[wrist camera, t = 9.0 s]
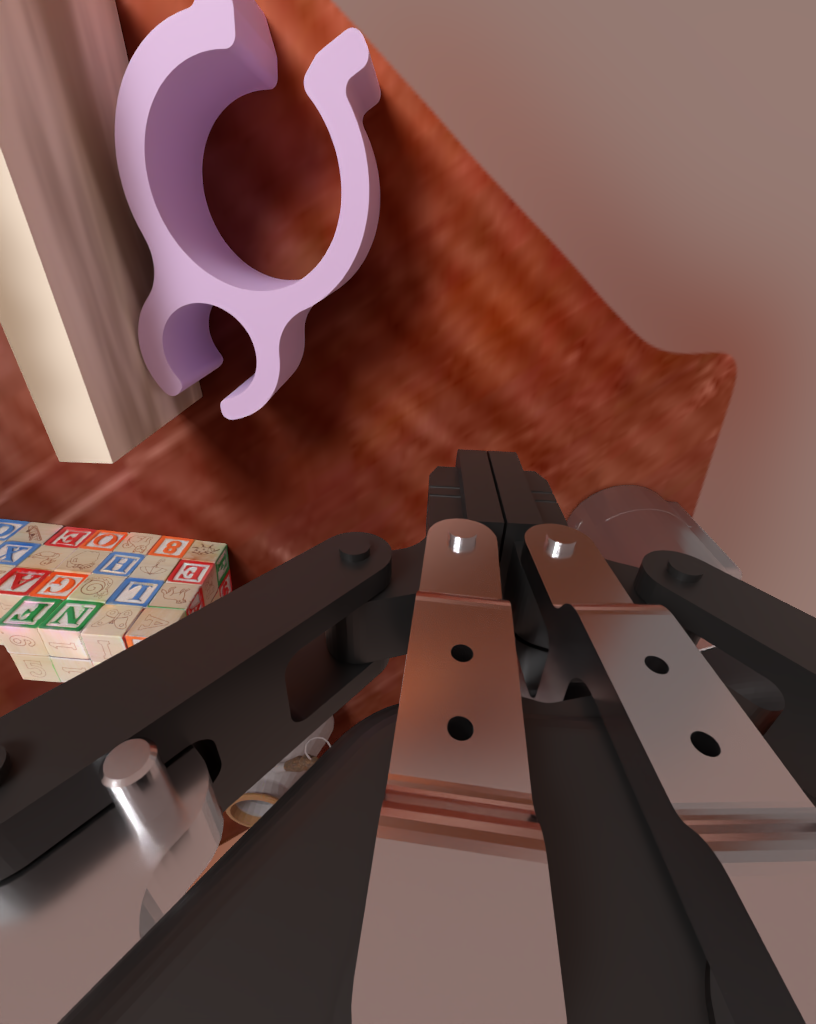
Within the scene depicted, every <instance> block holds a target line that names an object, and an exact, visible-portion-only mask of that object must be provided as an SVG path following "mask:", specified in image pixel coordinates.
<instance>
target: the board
mask: <svg viewBox="0 0 816 1024" xmlns="http://www.w3.org/2000/svg"><path fill="white" fill-rule="evenodd" d="M128 64H129V61H128V57H127V52H126V48H125V43H124V39H123V34H122V30H121V25H120V21H119V16H118V11H117V7H116V2H115V0H0V322H1V325H2V327H3V330H4V332H5V334H6V337H7V339H8V341H9V344H10V346H11V348H12V351H13V353H14V356H15V358H16V360H17V363H18V365H19V367H20V370H21V372H22V374H23V377H24V379H25V381H26V384H27V386H28V389H29V391H30V393H31V396H32V398H33V400H34V403H35V405H36V407H37V410H38V412H39V414H40V417H41V419H42V422H43V424H44V426H45V429H46V431H47V433H48V436H49V438H50V440H51V443H52V445H53V448H54V450H55V452H56V455H57V457H58V459H59V462H85V463H114V462H115V461H117V460H118V459H120V458H121V457H122V456H124V455H125V454H126V453H128V452H129V451H130V450H132V449H133V448H134V447H136V446H137V445H138V444H140V443H141V442H142V441H144V440H145V439H146V438H148V437H149V436H150V435H152V434H153V433H154V432H156V431H157V430H158V429H160V428H161V427H162V426H164V425H165V424H166V423H168V422H169V421H170V420H172V419H173V418H175V417H176V416H177V415H179V414H180V413H181V412H183V411H184V410H185V409H187V408H188V407H189V406H191V405H192V404H193V403H195V402H196V401H197V400H199V399H200V398H201V397H203V396H202V392H201V387H200V383H199V381H197V382H196V383H194V384H193V385H191V386H190V387H188V388H187V389H185V390H184V391H182V392H181V393H179V394H178V395H176V396H170V395H168V394H166V393H165V392H164V391H163V390H162V389H161V388H160V386H159V385H158V384H157V383H156V381H155V380H154V378H153V377H152V375H151V373H150V372H149V370H148V368H147V366H146V364H145V362H144V359H143V356H142V353H141V349H140V345H139V338H138V323H139V317H140V313H141V310H142V307H143V305H144V303H145V301H146V300H147V298H148V296H149V294H150V292H151V290H152V287H153V282H154V263H153V258H152V255H151V251H150V249H149V246H148V244H147V242H146V240H145V238H144V236H143V234H142V232H141V230H140V229H139V227H138V225H137V223H136V221H135V219H134V217H133V214H132V212H131V209H130V207H129V204H128V202H127V199H126V196H125V193H124V190H123V187H122V183H121V179H120V175H119V170H118V165H117V158H116V149H115V114H116V106H117V99H118V95H119V90H120V86H121V83H122V79H123V77H124V74H125V71H126V69H127V67H128Z"/></svg>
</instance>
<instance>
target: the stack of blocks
mask: <svg viewBox="0 0 816 1024" xmlns="http://www.w3.org/2000/svg"><path fill="white" fill-rule="evenodd" d="M230 592H232V582H231V573H230V569H229V560H228V551H227V544H224V543H215V542H207V541H198V540H194V539H187V538H178V537H169V536H160V535H153V534H144V533H135V532H131V533H126V532H115V531H106V530H93V529H85V528H75V527H64V526H62V525H54V524H45V523H36V522H26V521H18V520H7V519H0V645H5V647H6V649H7V651H8V652H9V653H10V654H11V657H12V658H13V660H14V662H15V664H16V666H17V668H18V670H19V672H20V674H21V676H22V678H23V679H29V680H39V681H51V682H66V681H68V680H70V679H72V678H74V677H76V676H77V675H79V674H81V673H83V672H85V671H87V670H88V669H90V668H92V667H94V666H96V665H98V664H100V663H101V662H103V661H105V660H107V659H109V658H111V657H112V656H114V655H116V654H118V653H120V652H122V651H123V650H125V649H127V648H129V647H131V646H133V645H134V644H136V643H138V642H140V641H142V640H144V639H146V638H147V637H149V636H151V635H153V634H155V633H157V632H158V631H160V630H162V629H164V628H166V627H168V626H169V625H171V624H173V623H175V622H177V621H179V620H180V619H182V618H184V617H186V616H188V615H190V614H192V613H193V612H195V611H197V610H199V609H201V608H203V607H204V606H206V605H208V604H210V603H212V602H214V601H215V600H217V599H219V598H221V597H223V596H225V595H226V594H228V593H230Z"/></svg>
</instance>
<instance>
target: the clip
mask: <svg viewBox="0 0 816 1024" xmlns="http://www.w3.org/2000/svg"><path fill="white" fill-rule="evenodd" d="M277 81H278V71H277V55H276V51H275V48H274V44H273V41H272V37H271V34H270V30H269V27H268V23H267V19H266V17H265V15H264V13H263V11H262V10H261V9H260V7H259V6H258V5H257V3H256V2H255V0H194V3H193V5H192V6H191V7H189V8H187V9H185V10H182V11H180V12H178V13H176V14H174V15H172V16H170V17H169V18H167V19H166V20H164V21H163V22H161V23H160V24H159V25H158V26H156V27H155V28H154V29H153V30H152V31H151V32H150V33H149V34H148V35H147V36H146V38H145V39H144V40H143V41H142V42H141V44H140V45H139V47H138V48H137V50H136V51H135V53H134V55H133V57H132V58H131V60H130V62H129V64H128V67H127V69H126V71H125V74H124V77H123V79H122V83H121V86H120V90H119V95H118V99H117V106H116V114H115V149H116V158H117V165H118V170H119V175H120V179H121V183H122V187H123V190H124V193H125V196H126V199H127V202H128V204H129V207H130V209H131V212H132V214H133V217H134V219H135V221H136V223H137V225H138V227H139V229H140V230H141V232H142V234H143V236H144V238H145V240H146V242H147V244H148V246H149V249H150V251H151V255H152V258H153V263H154V282H153V287H152V290H151V292H150V294H149V296H148V298H147V300H146V301H145V303H144V305H143V307H142V310H141V313H140V317H139V323H138V338H139V345H140V349H141V353H142V356H143V359H144V362H145V364H146V366H147V368H148V370H149V372H150V373H151V375H152V377H153V378H154V380H155V381H156V383H157V384H158V385H159V386H160V388H161V389H162V390H163V391H164V392H165V393H166V394H168V395H170V396H176V395H178V394H179V393H181V392H182V391H184V390H185V389H187V388H188V387H190V386H191V385H193V384H194V383H196V382H197V381H199V380H200V379H202V378H203V377H205V376H206V375H208V374H209V373H211V372H212V371H214V370H216V369H217V368H219V367H220V365H221V364H222V363H223V357H222V355H221V354H220V352H219V351H218V350H217V348H216V347H215V345H214V343H213V341H212V338H211V335H210V331H209V315H210V311H211V309H212V306H213V305H214V306H217V307H219V308H221V309H223V310H225V311H227V312H228V313H230V314H231V315H232V316H234V317H235V318H236V319H237V320H238V321H239V322H240V323H241V324H242V325H243V327H244V328H245V329H246V331H247V332H248V334H249V336H250V338H251V340H252V342H253V345H254V348H255V352H256V359H257V366H256V372H255V374H253V375H252V376H251V377H250V378H249V379H247V380H246V381H245V382H244V383H243V384H241V385H240V386H239V387H238V388H237V389H236V390H234V391H233V392H232V393H231V394H230V395H228V396H227V397H226V398H225V399H224V400H222V401H221V404H220V407H221V412H222V414H223V416H224V417H225V418H227V419H230V420H234V419H240V418H243V417H246V416H249V415H251V414H253V413H255V412H256V411H258V410H259V409H260V408H261V407H263V406H264V405H265V404H266V403H267V401H268V400H269V399H270V398H271V397H272V396H273V395H274V394H275V393H276V392H277V391H278V390H279V388H280V387H281V386H282V385H283V384H284V383H285V382H286V381H287V380H288V379H289V378H290V377H291V375H292V374H293V373H294V372H295V371H296V369H297V368H298V366H299V364H300V362H301V359H302V356H303V353H304V347H305V321H306V318H307V315H308V313H309V311H310V309H311V308H312V306H313V305H314V304H316V303H318V302H319V301H321V300H322V299H324V298H325V297H327V296H328V295H330V294H331V293H333V292H334V291H336V290H337V289H339V288H340V287H342V286H343V285H344V284H345V283H346V282H347V281H348V280H349V279H351V277H352V276H353V275H354V274H355V273H356V272H357V270H358V269H359V268H360V266H361V265H362V263H363V262H364V260H365V258H366V256H367V254H368V252H369V250H370V248H371V245H372V243H373V240H374V237H375V233H376V230H377V225H378V220H379V212H380V183H379V175H378V169H377V164H376V160H375V156H374V152H373V149H372V146H371V143H370V141H369V138H368V136H367V133H366V131H365V129H364V126H363V117H364V115H365V113H366V112H367V111H368V110H370V109H371V108H372V107H374V106H375V105H376V104H377V103H378V102H379V100H380V97H381V90H380V86H379V83H378V80H377V77H376V73H375V70H374V67H373V63H372V60H371V57H370V53H369V50H368V47H367V44H366V42H365V39H364V37H363V35H362V33H361V32H360V31H359V30H358V29H356V28H348V29H347V30H345V31H344V32H343V33H342V34H340V35H339V36H338V37H337V38H335V39H334V40H333V41H332V42H330V43H329V44H328V45H327V46H326V47H324V48H323V49H322V50H321V51H319V52H318V53H317V55H316V56H315V58H314V60H313V62H312V63H311V65H310V67H309V69H308V71H307V72H306V74H305V77H304V88H305V91H306V93H307V95H308V96H309V97H310V99H311V100H312V102H313V103H314V104H315V106H316V108H317V109H318V111H319V112H320V114H321V116H322V118H323V120H324V122H325V124H326V126H327V128H328V130H329V133H330V135H331V138H332V141H333V144H334V147H335V150H336V154H337V158H338V163H339V168H340V175H341V188H342V195H341V210H340V217H339V221H338V226H337V229H336V232H335V235H334V238H333V241H332V243H331V245H330V247H329V249H328V251H327V252H326V254H325V256H324V257H323V259H322V260H321V261H320V263H319V264H318V265H317V266H316V267H315V268H314V269H313V270H312V271H311V272H310V273H309V274H308V275H307V276H305V277H304V278H303V279H301V280H282V279H277V278H273V277H270V276H267V275H265V274H262V273H260V272H258V271H257V270H255V269H253V268H252V267H250V266H249V265H247V264H246V263H245V262H243V261H242V260H241V259H240V258H239V257H238V256H237V255H236V254H235V253H234V252H233V251H232V250H231V249H230V247H229V246H228V245H227V244H226V242H225V241H224V239H223V238H222V236H221V235H220V233H219V231H218V230H217V228H216V226H215V224H214V222H213V219H212V217H211V215H210V212H209V209H208V206H207V202H206V198H205V194H204V188H203V178H202V164H203V155H204V149H205V145H206V141H207V138H208V135H209V133H210V130H211V128H212V126H213V124H214V123H215V121H216V119H217V118H218V116H219V115H220V114H221V113H222V111H223V110H224V109H225V108H226V107H227V106H228V105H229V104H231V103H232V102H233V101H235V100H236V99H237V98H239V97H241V96H243V95H245V94H248V93H251V92H254V91H259V90H270V89H273V88H274V87H275V86H276V84H277Z"/></svg>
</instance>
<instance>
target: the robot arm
mask: <svg viewBox="0 0 816 1024" xmlns="http://www.w3.org/2000/svg"><path fill="white" fill-rule="evenodd" d="M741 578H742V572H741V570H740V569H739V568H738V567H737V565H736V564H735V563H734V562H733V561H732V560H731V559H730V558H729V557H728V556H727V555H726V554H725V553H724V552H723V551H722V549H721V548H720V547H719V546H718V545H717V544H716V543H715V542H714V541H713V540H712V539H711V538H710V537H709V536H708V535H707V533H706V532H705V531H704V530H703V529H702V528H701V527H700V526H699V525H698V524H697V523H696V522H695V521H694V520H693V519H692V518H691V516H690V515H689V514H688V513H687V512H686V511H685V510H684V509H683V508H682V507H681V506H680V505H679V504H678V503H677V502H668V501H665V500H664V499H663V498H662V497H660V496H659V495H658V494H657V493H656V492H654V491H652V490H650V489H648V488H645V487H640V486H635V485H622V486H615V487H611V488H608V489H604V490H601V491H599V492H597V493H595V494H593V495H591V496H590V497H588V498H587V499H586V500H584V501H583V502H582V503H581V504H580V505H579V506H578V507H577V508H576V509H575V510H574V511H573V512H572V514H571V515H570V517H569V519H568V521H567V522H566V520H565V518H564V516H563V514H562V511H561V509H560V507H559V505H558V503H556V499H555V497H554V495H553V494H552V490H551V488H550V486H549V484H548V482H547V481H546V480H545V479H544V478H542V477H541V476H540V475H539V474H537V473H536V472H534V471H523V469H522V466H521V464H520V461H519V459H518V456H517V454H516V452H499V451H487V452H486V451H478V450H460V449H458V452H457V458H456V467H439V466H438V467H437V468H436V469H435V470H434V471H433V472H432V473H431V474H430V477H429V491H428V505H427V519H426V537H425V539H423V540H422V541H421V542H420V543H418V544H416V545H414V546H411V547H408V548H404V549H399V550H393V551H392V550H391V548H390V546H389V544H388V543H387V542H386V541H385V540H383V539H382V538H380V537H378V536H376V535H373V534H369V533H363V532H350V533H343V534H339V535H336V536H334V537H332V538H330V539H328V540H326V541H324V542H322V543H320V544H318V545H317V546H315V547H313V548H311V549H309V550H307V551H306V552H304V553H302V554H300V555H298V556H296V557H295V558H293V559H291V560H289V561H287V562H285V563H284V564H282V565H280V566H278V567H276V568H274V569H272V570H271V571H269V572H267V573H265V574H263V575H261V576H260V577H258V578H256V579H254V580H252V581H250V582H249V583H247V584H245V585H243V586H241V587H239V588H238V589H236V590H234V591H232V592H230V593H228V594H226V595H225V596H223V597H221V598H219V599H217V600H215V601H214V602H212V603H210V604H208V605H206V606H204V607H203V608H201V609H199V610H197V611H195V612H193V613H192V614H190V615H188V616H186V617H184V618H182V619H180V620H179V621H177V622H175V623H173V624H171V625H169V626H168V627H166V628H164V629H162V630H160V631H158V632H157V633H155V634H153V635H151V636H149V637H147V638H146V639H144V640H142V641H140V642H138V643H136V644H134V645H133V646H131V647H129V648H127V649H125V650H123V651H122V652H120V653H118V654H116V655H114V656H112V657H111V658H109V659H107V660H105V661H103V662H101V663H100V664H98V665H96V666H94V667H92V668H90V669H88V670H87V671H85V672H83V673H81V674H79V675H77V676H76V677H74V678H72V679H70V680H68V681H66V682H65V683H63V684H61V685H59V686H57V687H55V688H54V689H52V690H50V691H48V692H46V693H44V694H42V695H41V696H39V697H37V698H35V699H33V700H31V701H30V702H28V703H26V704H24V705H22V706H20V707H19V708H17V709H15V710H13V711H11V712H9V713H8V714H6V715H4V716H2V717H0V1024H816V618H815V617H813V616H811V615H808V614H807V613H805V612H803V611H801V610H799V609H797V608H795V607H793V606H790V605H789V604H787V603H785V602H783V601H781V600H779V599H777V598H775V597H773V596H771V595H769V594H767V593H765V592H763V591H761V590H759V589H757V588H755V587H753V586H751V585H749V584H747V583H745V582H743V581H741ZM405 654H407V657H406V663H405V670H404V676H403V683H402V689H401V696H400V702H399V704H396V705H393V706H390V707H387V708H385V709H382V710H380V711H378V712H376V713H374V714H372V715H370V716H369V717H367V718H365V719H364V720H362V721H360V722H359V723H357V724H356V725H355V726H353V727H352V728H351V729H349V730H348V731H347V732H346V733H344V734H343V735H342V736H341V737H340V738H339V739H338V740H337V741H336V742H335V743H334V744H333V745H332V746H331V747H330V748H329V749H328V750H327V751H326V752H325V753H324V754H323V755H322V756H321V757H320V758H319V759H318V760H317V761H316V762H315V763H314V764H313V765H312V766H311V767H310V768H309V769H308V770H307V771H306V772H305V773H304V774H303V775H302V776H301V777H300V778H299V779H298V780H297V781H296V782H295V783H294V784H293V785H292V786H291V787H290V789H289V790H288V791H287V792H286V793H285V794H284V795H283V796H282V797H281V798H280V799H279V800H278V801H277V802H276V803H275V804H274V805H273V806H272V807H271V808H270V809H269V810H268V811H267V812H266V813H265V814H264V815H263V816H262V817H261V818H260V819H259V820H258V821H257V822H256V823H255V824H254V825H253V826H252V827H251V828H250V829H249V830H248V831H247V832H246V833H245V834H244V835H243V836H242V837H241V838H240V839H239V840H238V841H237V842H236V843H235V844H234V845H233V846H232V847H231V848H230V849H229V850H228V851H227V852H226V853H225V854H224V855H223V856H222V857H221V858H220V859H219V860H218V861H217V862H216V863H215V864H214V865H213V866H212V867H211V868H210V869H209V870H208V871H207V873H205V874H204V875H203V877H201V878H200V879H199V881H197V882H196V884H195V885H194V886H193V887H192V888H191V889H190V890H189V891H188V892H187V893H186V891H187V890H188V888H189V887H190V886H191V885H192V884H193V882H194V881H195V880H196V879H197V877H198V876H199V875H200V874H201V873H202V872H203V871H204V869H205V868H206V867H207V865H208V864H209V862H210V861H211V859H212V858H213V856H214V854H215V852H216V850H217V848H218V845H219V842H220V839H221V835H222V831H223V812H224V811H225V810H226V809H227V808H229V807H230V806H231V805H232V804H233V803H234V802H235V801H236V800H238V799H239V798H240V797H241V796H242V795H243V794H244V793H245V792H247V791H248V790H249V789H250V788H251V787H252V786H253V785H254V784H256V783H257V782H258V781H259V780H260V779H261V778H262V777H263V776H265V775H266V774H267V773H268V772H269V771H270V770H271V769H272V768H274V767H275V766H276V765H277V764H278V763H279V762H280V761H282V760H283V759H284V758H285V757H286V756H287V755H288V754H289V753H291V752H292V751H293V750H294V749H295V748H296V747H297V746H298V745H300V744H301V743H302V742H303V741H304V740H305V739H306V738H307V737H309V736H310V735H311V734H312V733H313V732H314V731H315V730H316V729H318V728H319V727H320V726H321V725H322V724H323V723H324V722H326V721H327V720H328V719H329V718H330V717H331V716H332V715H333V714H335V713H336V712H337V711H338V710H339V709H340V708H341V707H342V706H344V705H345V704H346V703H347V702H348V701H349V700H350V699H351V698H353V697H354V696H355V695H356V694H357V693H358V692H359V691H360V690H362V689H363V688H364V687H365V686H366V685H367V684H368V683H369V682H371V681H372V680H373V679H374V678H375V677H376V676H377V675H379V674H380V673H381V672H382V671H383V670H384V668H385V667H386V665H387V663H388V661H389V658H392V657H396V656H401V655H405ZM185 893H186V894H185ZM184 894H185V895H184Z"/></svg>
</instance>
